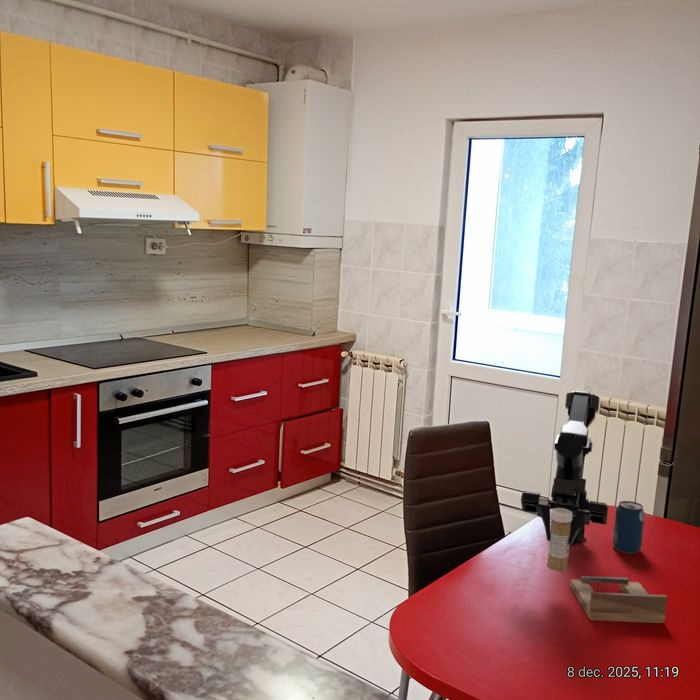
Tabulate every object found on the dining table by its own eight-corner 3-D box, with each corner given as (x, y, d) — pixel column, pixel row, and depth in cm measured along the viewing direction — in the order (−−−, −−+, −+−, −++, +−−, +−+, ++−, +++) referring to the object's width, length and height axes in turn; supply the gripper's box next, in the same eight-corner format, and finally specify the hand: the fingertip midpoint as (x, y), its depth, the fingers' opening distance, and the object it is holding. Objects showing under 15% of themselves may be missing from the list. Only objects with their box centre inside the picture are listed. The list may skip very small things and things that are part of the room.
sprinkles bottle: (554, 561, 172) (559, 505, 170) (571, 569, 169) (577, 511, 166) (542, 566, 169) (547, 509, 167) (559, 574, 166) (564, 516, 164)
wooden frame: (570, 586, 173) (572, 562, 172) (637, 589, 173) (640, 565, 172) (590, 620, 159) (592, 594, 158) (664, 623, 159) (667, 597, 158)
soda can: (646, 551, 195) (651, 507, 193) (628, 556, 191) (633, 511, 189) (624, 541, 201) (628, 498, 199) (606, 546, 197) (610, 502, 195)
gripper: (525, 456, 172) (513, 519, 164) (611, 468, 165) (604, 535, 157) (527, 479, 181) (517, 540, 172) (610, 491, 174) (603, 555, 166)
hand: (558, 542), depth 167 cm, fingers closed on sprinkles bottle, 4 cm apart
